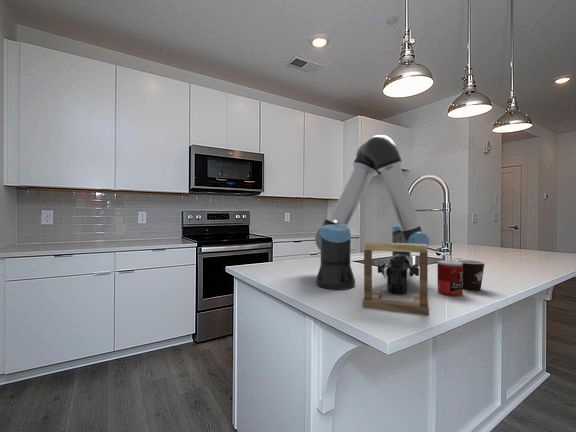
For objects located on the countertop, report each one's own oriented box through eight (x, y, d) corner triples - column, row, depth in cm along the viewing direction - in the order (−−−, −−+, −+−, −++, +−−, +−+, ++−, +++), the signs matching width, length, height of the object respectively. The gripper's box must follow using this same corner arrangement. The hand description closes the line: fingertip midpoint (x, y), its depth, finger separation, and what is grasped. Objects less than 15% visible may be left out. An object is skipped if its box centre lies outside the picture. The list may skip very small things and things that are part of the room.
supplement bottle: (411, 294, 101) (411, 259, 101) (395, 295, 99) (395, 260, 99) (399, 289, 108) (399, 256, 108) (383, 290, 106) (383, 257, 106)
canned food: (454, 297, 97) (454, 264, 96) (432, 292, 104) (432, 261, 104) (468, 294, 100) (468, 262, 100) (446, 289, 107) (446, 259, 107)
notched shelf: (370, 294, 101) (370, 239, 101) (427, 300, 94) (427, 241, 94) (362, 306, 88) (362, 244, 88) (428, 315, 80) (428, 246, 80)
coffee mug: (476, 286, 111) (476, 260, 111) (489, 292, 103) (489, 264, 103) (444, 285, 113) (444, 259, 112) (455, 291, 104) (455, 263, 104)
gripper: (426, 274, 116) (428, 288, 95) (375, 271, 124) (366, 283, 103) (426, 256, 116) (428, 265, 95) (375, 253, 124) (366, 262, 103)
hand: (396, 274), depth 99 cm, fingers closed on supplement bottle, 7 cm apart
